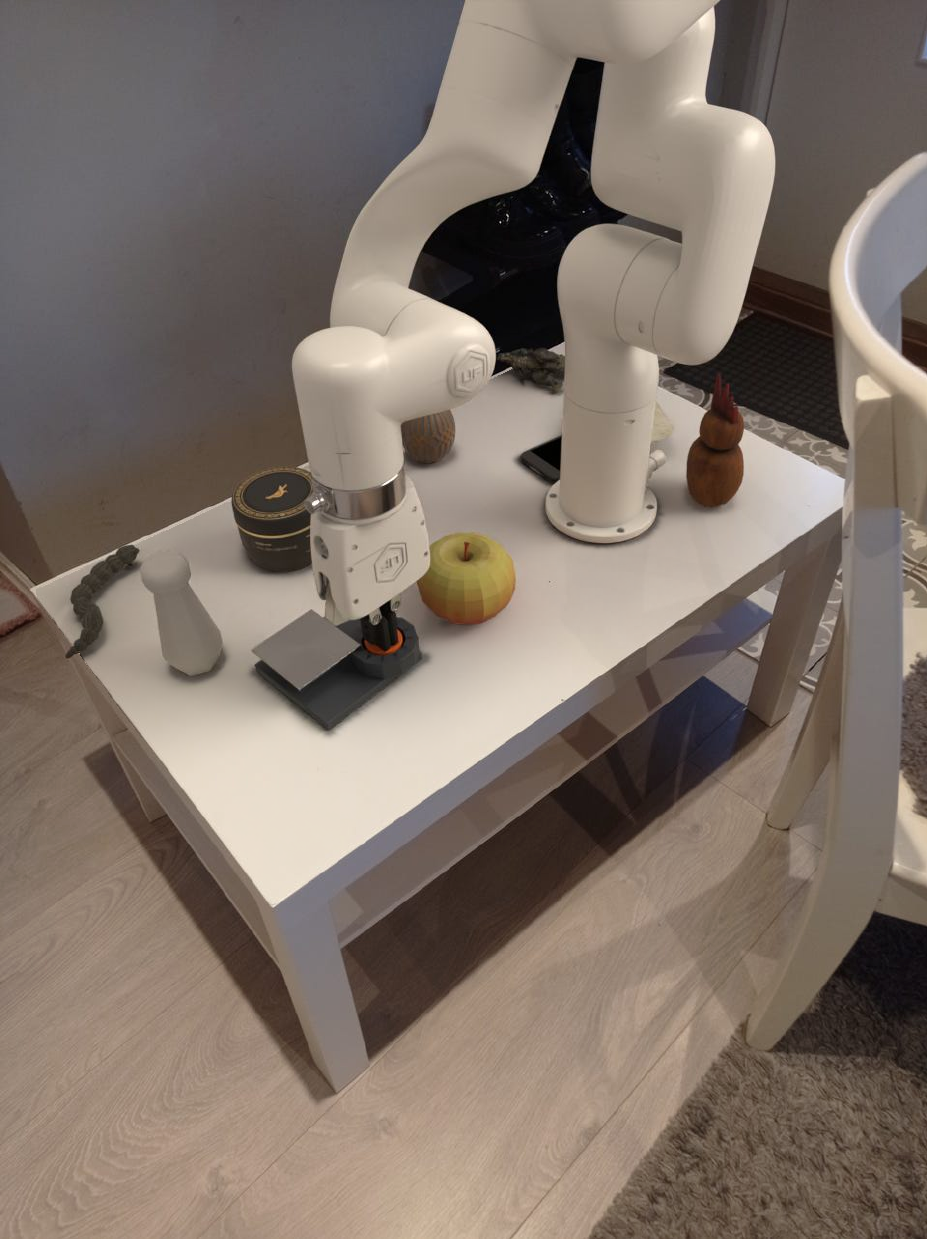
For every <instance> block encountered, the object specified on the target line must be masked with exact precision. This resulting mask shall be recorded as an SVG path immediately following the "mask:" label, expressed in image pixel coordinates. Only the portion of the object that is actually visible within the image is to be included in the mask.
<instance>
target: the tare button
mask: <svg viewBox="0 0 927 1239" xmlns="http://www.w3.org/2000/svg"><path fill="white" fill-rule="evenodd" d="M397 632H398V641H399V642H398V643H397V644H396V645H394V646H393V645H392V646H391V647H390V649H389V650H388V651H386V652H385V651H383V650H382V649H380V648H379V647H378V646H376V645H375V644H374V645H371V644H370V643H368V642H367V641H366V640H365V647H366V651H368V652H369V653H370V654H374V655H380V656H384V655H388V654H392V653H395V652H396V651H398V650H399V649H400V648H402V647H403V639H402V635H401V633H400V631H399V630H397Z"/></svg>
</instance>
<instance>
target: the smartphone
mask: <svg viewBox="0 0 927 1239" xmlns="http://www.w3.org/2000/svg"><path fill="white" fill-rule="evenodd" d="M561 445H562V434H560V435H558V436H556V437H554V438H551V439H549V440H547V441H545V442H542V443H541V444H539V445H536V446H534V447H532V448H530V449H527V450H525V451H524V452H522V453H521V454H520V456H519V459H520V462H521V463H523V464H524V465H525V466H527V467H529V468H530V469H531V470H533V471H534V472H536V473H537V474H538V475H540V476H541V477H543V478H544V479H545V480H547V481H549V482H551V483H556V482H557V481H558V480H560V469H561Z"/></svg>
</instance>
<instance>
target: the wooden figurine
mask: <svg viewBox="0 0 927 1239" xmlns="http://www.w3.org/2000/svg"><path fill="white" fill-rule="evenodd" d="M722 385H723V384H722V373H720V372H718V373H717V374H716V379H715V384H714V389H713V393H712V398H711V404H710V408H709V409H708V410H707V411H706V412H705V413H703V416H702V418H701V421H700V425H699V431H698V432H699V436H698V437H697V438H696V439H695V440H694V441H692V444H691V446H690V447H689V449H688V453H687V458H686V470H685V471H686V474H685V476H686V484H687V489H688V494H689V496H690V497H691V499H692V500H693V501H695V503H697V504H699V505H700V506H702V507H704V508H718V507H720V506H724V505H727V504H728V503H729V502H731V500H732V498H734V497H735V495H736V494H737V493H738V491H739V489H740V487H741V485H742V483H743V478H744V472H745V471H744V470H745V463H744V455H743V451H742V448H741V447H740V445H739V444H740V443H741V441H742V439H743V435H744V433H745V432H744V431H745V421H744V417H743V415H742V413H741V412H740V411H739V406H737V405H735V406H734V404H735V397H734V396H730V384H729V382H728V383H726V384H725V386H724V388H723V386H722Z"/></svg>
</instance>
